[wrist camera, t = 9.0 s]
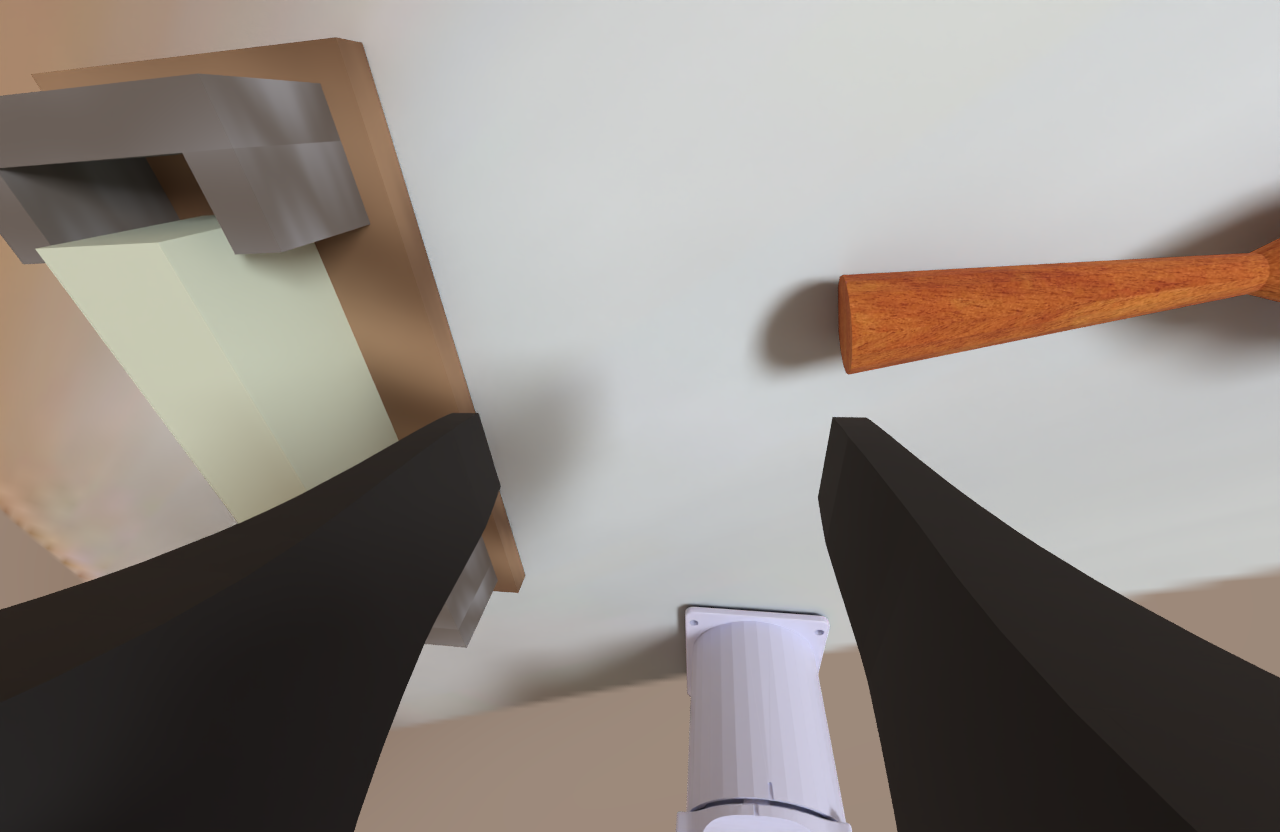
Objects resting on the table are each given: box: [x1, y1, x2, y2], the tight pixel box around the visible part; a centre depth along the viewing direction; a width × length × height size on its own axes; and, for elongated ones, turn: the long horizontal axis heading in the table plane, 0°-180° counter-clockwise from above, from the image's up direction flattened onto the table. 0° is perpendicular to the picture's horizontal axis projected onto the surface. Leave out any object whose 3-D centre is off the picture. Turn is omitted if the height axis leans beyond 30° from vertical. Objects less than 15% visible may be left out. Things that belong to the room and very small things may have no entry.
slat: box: [36, 215, 399, 524], centre depth 19 cm, size 16×4×5 cm, turn 4°
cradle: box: [0, 38, 525, 648], centre depth 20 cm, size 25×11×5 cm, turn 4°
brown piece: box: [838, 238, 1280, 374], centre depth 13 cm, size 6×6×20 cm
